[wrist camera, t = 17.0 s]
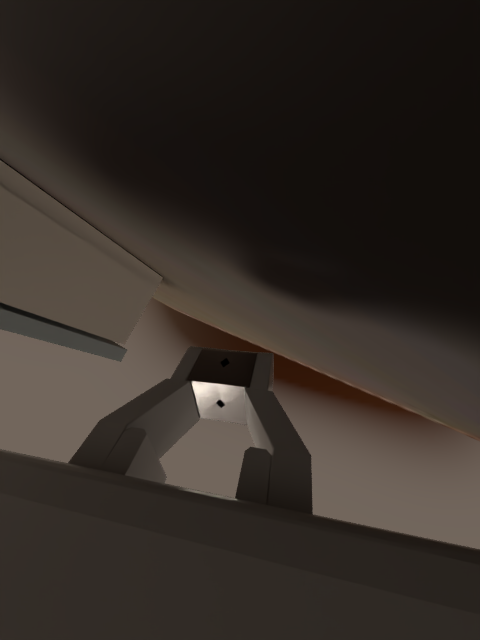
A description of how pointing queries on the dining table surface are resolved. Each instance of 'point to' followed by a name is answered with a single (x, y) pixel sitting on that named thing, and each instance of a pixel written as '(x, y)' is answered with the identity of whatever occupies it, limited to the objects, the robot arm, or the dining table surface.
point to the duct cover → (57, 333)
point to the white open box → (66, 265)
